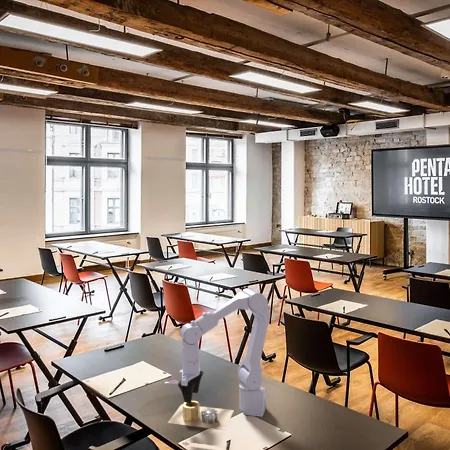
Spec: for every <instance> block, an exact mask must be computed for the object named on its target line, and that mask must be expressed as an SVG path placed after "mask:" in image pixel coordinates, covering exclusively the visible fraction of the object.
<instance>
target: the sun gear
mask: <svg viewBox="0 0 450 450" xmlns="http://www.w3.org/2000/svg"><path fill="white" fill-rule="evenodd" d="M210 408H211V409H207V408H206V409H205V410H204V411H201V412H202V422H203V423H206V424H211V423H212V424H215V422H217V421H218V412H217V410H214V409H213V408H214V407H210Z"/></svg>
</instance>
